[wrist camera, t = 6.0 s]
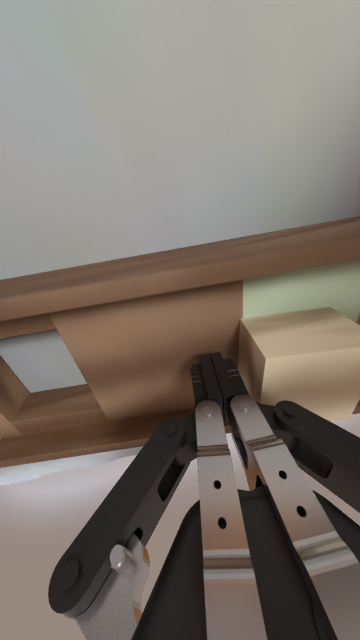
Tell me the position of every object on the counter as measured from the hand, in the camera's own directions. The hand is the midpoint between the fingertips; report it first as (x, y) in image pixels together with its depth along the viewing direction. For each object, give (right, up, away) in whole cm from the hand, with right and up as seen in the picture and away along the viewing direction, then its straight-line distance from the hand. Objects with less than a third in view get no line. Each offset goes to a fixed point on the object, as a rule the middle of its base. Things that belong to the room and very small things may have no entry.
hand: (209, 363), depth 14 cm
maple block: (+5, +1, +1) cm, 5 cm away
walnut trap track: (+1, +2, +4) cm, 4 cm away
